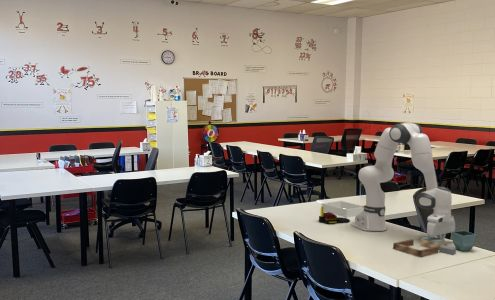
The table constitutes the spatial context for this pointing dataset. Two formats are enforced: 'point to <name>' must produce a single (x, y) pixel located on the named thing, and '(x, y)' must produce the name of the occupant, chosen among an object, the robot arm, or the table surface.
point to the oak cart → (432, 242)
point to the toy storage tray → (338, 208)
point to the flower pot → (463, 240)
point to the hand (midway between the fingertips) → (440, 241)
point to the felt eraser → (447, 250)
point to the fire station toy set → (331, 218)
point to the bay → (420, 253)
